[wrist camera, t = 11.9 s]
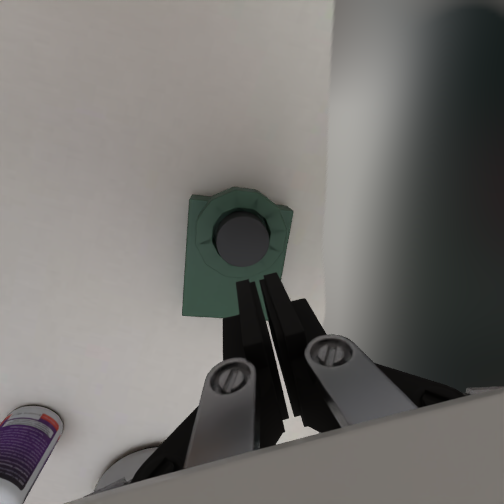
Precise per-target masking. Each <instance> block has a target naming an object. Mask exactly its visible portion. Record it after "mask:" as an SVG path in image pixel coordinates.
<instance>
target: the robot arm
mask: <svg viewBox="0 0 504 504" xmlns="http://www.w3.org/2000/svg"><path fill="white" fill-rule="evenodd" d="M263 276H264V279H262V280H259V282H260V287H261V291H262V295H263V300H264V304H265V308H266V313H267V317H268V321H269V326H270V330H271V334H272V339H273V342H274V346H275V350H276V353H277V357H278V360H279V364H280V368H281V371H282V375H283V378H284V382H285V385H286V389H287V393H288V396H289V400H290V403H291V407H292V410H293V414H294V417H296V416H300V415H301V418H302V421H303V425H304V427H306V426H309V427H311V428H313V429H315V430H316V431H318V432H319V434H316V435H312V436H308V437H304V438H300V439H297V440H293V441H289V442H285V443H281V444H278V445H276V443H277V441H278V440H279V438H280V436H281V435H282V433H283V432H285V429H284V425H283V421H282V420H285V419H289V416H288V412H287V407H286V403H285V399H284V395H283V390H282V386H281V382H280V377H279V373H278V369H277V365H276V360H275V356H274V352H273V347H272V343H271V339H270V335H269V332H268V328H267V324H266V320H265V317H264V313H263V309H262V306H261V302H260V298H259V294H258V291H257V287H256V283H255V281H254V282H250V281H249V279H247V280H243V281H238V282H236V289H237V298H238V307H239V315H235V316H231V317H226V318H223V361H222V362H220V363H218V364H217V365H216V366H214V367H213V368H212V369H211V371H210V372H209V373H208V375H207V377H206V379H205V383H204V387H203V391H202V395H201V399H200V403H199V406H198V407H197V408H196V409H195V410H194V411H193V412H192V413H191V414H190V415H189V416H188V417H187V418H186V419H185V420H184V421H183V422H182V423H181V424H180V425H179V426H178V428H177V429H176V430H175V431H174V432H173V433H172V434H171V435H170V436H169V437H168V438H167V439H166V440H165V441H164V442H163V443H162V444H161V445H160V446H159V447H158V448H157V449H156V450H155V451H154V452H153V453H152V455H151V456H150V457H149V458H148V459H147V460H146V461H145V462H144V463H143V464H142V465H141V467H140V468H139V469H138V470H137V472H136V473H135V475H134V477H133V479H131V480H129V481H126V479H125V477H123V478H121V479H119V480H117V481H115V482H113V483H111V484H109V485H107V486H105V487H103V488H101V489H99V490H97V491H95V492H93V493H91V494H89V495H87V496H85V497H83V498H80V499H77V500H74V501H71V502H67V503H64V504H504V386H501V387H479V388H467V390H466V393H461V392H459V391H458V390H456V389H454V388H451V387H449V386H447V385H444V384H441V383H437V382H434V381H431V380H428V379H424V378H421V377H418V376H415V375H411V374H408V373H405V372H402V371H399V370H395V369H392V368H389V367H385V366H382V365H379V364H376V363H373V361H372V360H371V359H370V358H368V356H366V354H364V352H363V351H361V350H360V348H358V346H357V345H356V344H355V343H354V342H352V341H351V340H350V339H348V338H346V337H343V336H340V335H334V334H329V335H327V334H326V333H325V331H324V329H323V328H322V326H321V324H320V323H319V321H318V319H317V317H316V316H315V314H314V312H313V311H312V309H311V307H310V306H309V304H308V302H307V300H306V299H305V298H303V299H299V300H295V301H290V299H289V297H288V295H287V293H286V291H285V289H284V286H283V284H282V282H281V280H280V278H279V276H278V274H277V272H275V273H271V274H267V275H263Z"/></svg>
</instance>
